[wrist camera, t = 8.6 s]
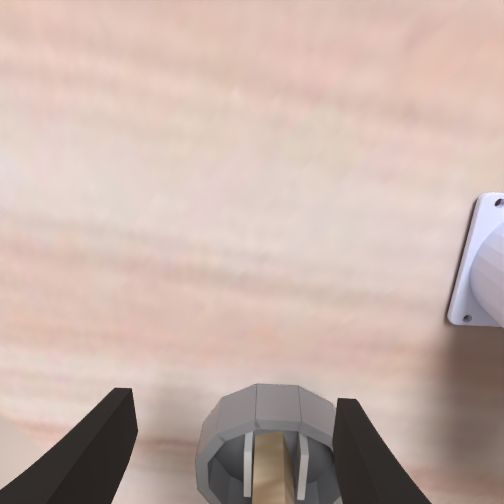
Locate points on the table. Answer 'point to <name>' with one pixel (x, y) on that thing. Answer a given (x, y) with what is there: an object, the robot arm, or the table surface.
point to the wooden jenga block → (272, 470)
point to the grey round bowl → (261, 422)
